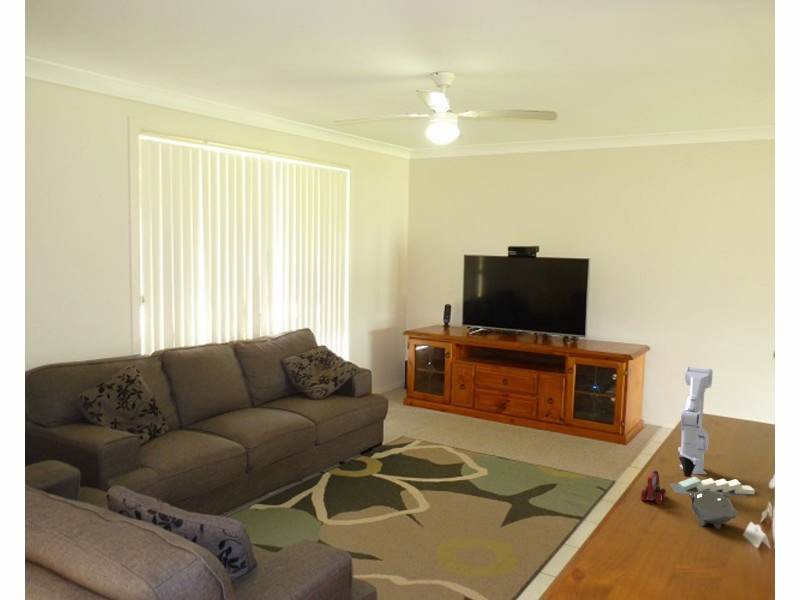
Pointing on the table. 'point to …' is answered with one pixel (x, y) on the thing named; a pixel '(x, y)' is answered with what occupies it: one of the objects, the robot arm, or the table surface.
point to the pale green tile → (690, 483)
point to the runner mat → (694, 490)
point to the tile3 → (720, 485)
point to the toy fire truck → (653, 489)
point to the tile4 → (732, 485)
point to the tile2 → (706, 484)
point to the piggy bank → (712, 507)
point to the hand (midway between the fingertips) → (687, 476)
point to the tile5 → (744, 490)
